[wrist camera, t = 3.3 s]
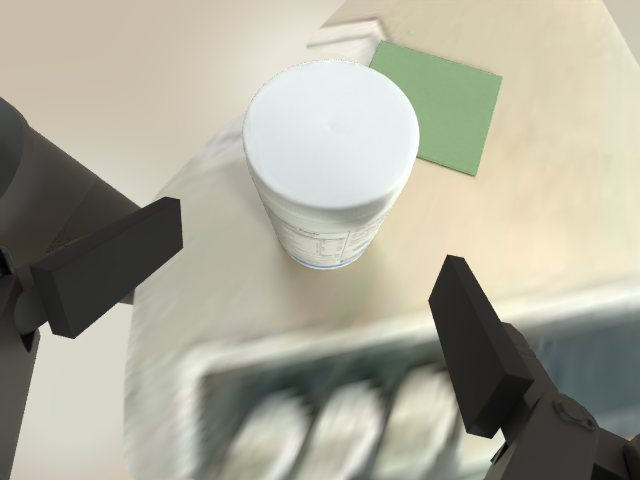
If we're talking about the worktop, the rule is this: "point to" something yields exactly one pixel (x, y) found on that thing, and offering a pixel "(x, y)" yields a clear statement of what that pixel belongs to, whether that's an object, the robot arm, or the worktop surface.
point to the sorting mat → (443, 103)
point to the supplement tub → (329, 156)
